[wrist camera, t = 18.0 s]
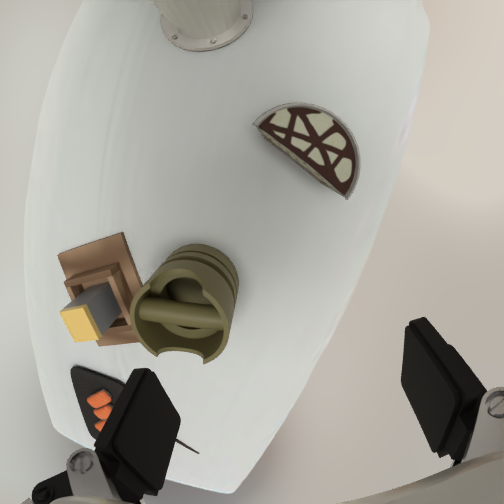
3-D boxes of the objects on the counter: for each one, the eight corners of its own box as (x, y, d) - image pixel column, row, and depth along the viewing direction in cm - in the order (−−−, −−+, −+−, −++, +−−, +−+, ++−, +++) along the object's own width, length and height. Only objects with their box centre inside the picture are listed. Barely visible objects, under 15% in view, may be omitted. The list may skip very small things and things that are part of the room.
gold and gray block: (89, 286, 42) (59, 312, 33) (112, 280, 41) (82, 307, 33) (101, 312, 43) (74, 342, 35) (124, 308, 43) (98, 339, 34)
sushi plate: (71, 358, 49) (62, 369, 46) (207, 399, 50) (204, 413, 46) (93, 433, 59) (88, 443, 55) (199, 465, 59) (196, 476, 55)
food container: (358, 155, 35) (388, 156, 26) (330, 190, 37) (351, 202, 27) (284, 95, 33) (290, 74, 24) (254, 131, 35) (250, 121, 25)
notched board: (59, 253, 41) (46, 261, 38) (122, 232, 40) (110, 239, 36) (100, 343, 47) (91, 355, 43) (164, 336, 45) (157, 349, 41)
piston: (227, 371, 32) (136, 357, 32) (236, 319, 43) (164, 311, 43) (231, 284, 28) (124, 273, 28) (241, 247, 40) (161, 241, 40)
